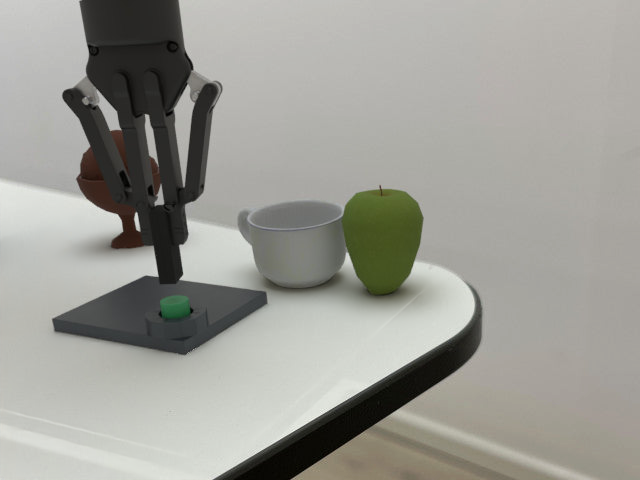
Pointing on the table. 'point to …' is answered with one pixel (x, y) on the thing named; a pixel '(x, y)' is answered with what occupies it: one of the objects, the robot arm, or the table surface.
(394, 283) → the apple
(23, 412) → the table surface
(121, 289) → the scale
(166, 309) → the button
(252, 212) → the teacup
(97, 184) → the ice cream bowl
